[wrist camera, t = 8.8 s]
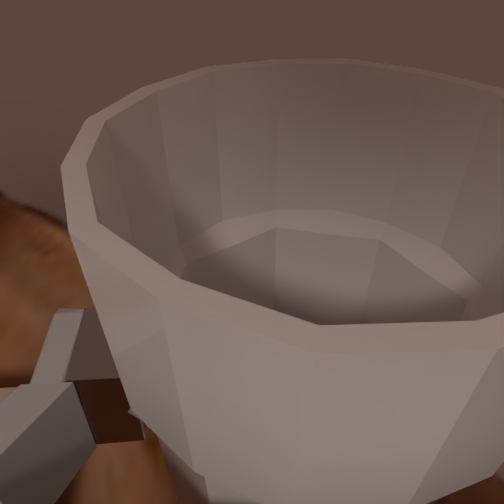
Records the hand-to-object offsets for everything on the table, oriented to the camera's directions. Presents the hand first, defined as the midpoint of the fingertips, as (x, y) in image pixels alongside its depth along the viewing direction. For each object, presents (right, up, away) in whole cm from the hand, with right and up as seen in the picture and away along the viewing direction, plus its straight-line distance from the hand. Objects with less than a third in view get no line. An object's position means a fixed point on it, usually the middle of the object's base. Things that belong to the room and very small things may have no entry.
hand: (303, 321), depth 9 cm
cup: (0, -6, +4) cm, 7 cm away
